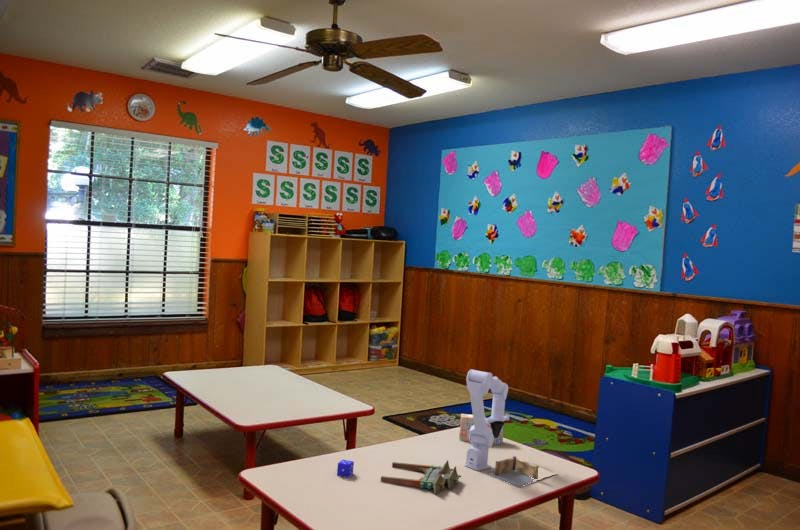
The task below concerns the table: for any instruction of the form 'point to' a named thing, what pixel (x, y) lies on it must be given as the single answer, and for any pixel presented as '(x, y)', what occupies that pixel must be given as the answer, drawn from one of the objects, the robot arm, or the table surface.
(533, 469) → the oak fence section
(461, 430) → the stack of blocks
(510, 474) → the board
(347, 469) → the die
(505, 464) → the walnut fence section
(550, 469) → the table surface
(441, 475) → the miniature gate
